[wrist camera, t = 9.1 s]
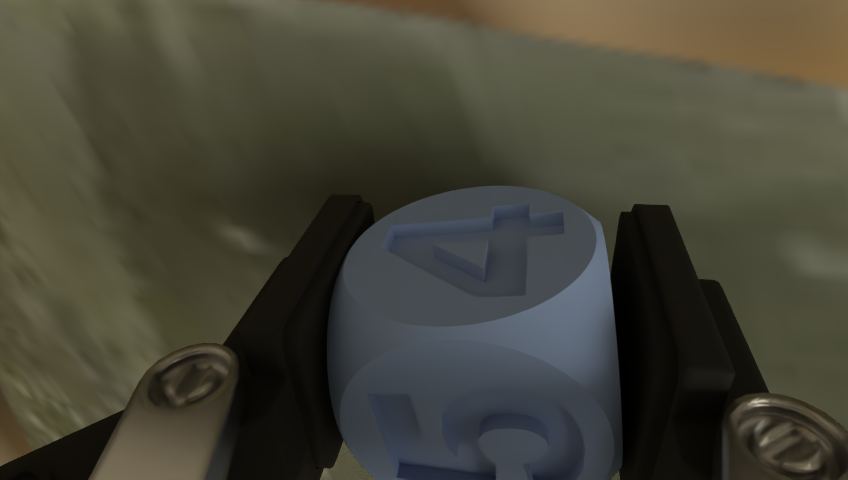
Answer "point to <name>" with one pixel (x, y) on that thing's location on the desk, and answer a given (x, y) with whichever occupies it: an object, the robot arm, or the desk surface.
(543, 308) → the decorative dice
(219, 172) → the desk surface
